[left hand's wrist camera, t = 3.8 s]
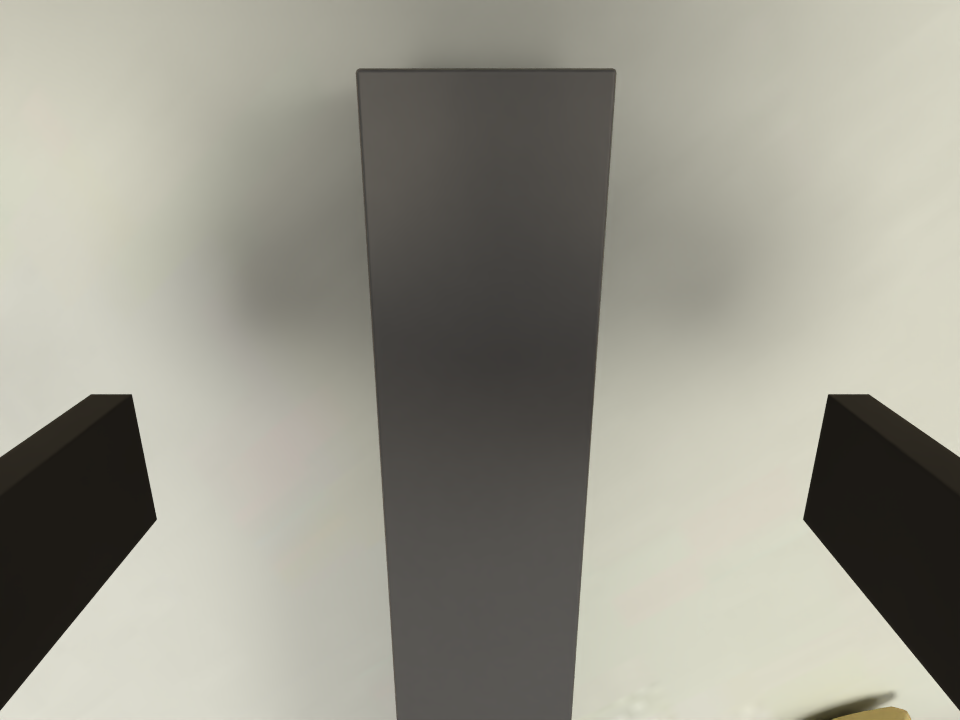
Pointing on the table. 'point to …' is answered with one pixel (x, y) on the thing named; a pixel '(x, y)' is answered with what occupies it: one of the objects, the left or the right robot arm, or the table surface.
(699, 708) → the table surface
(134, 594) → the table surface
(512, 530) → the bar
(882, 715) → the toy gun
